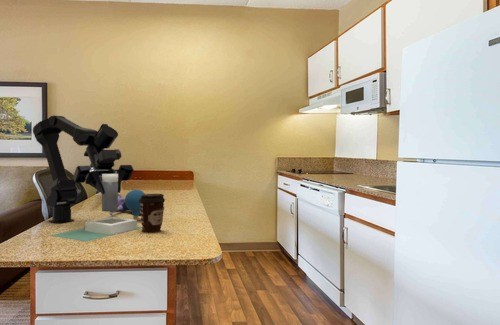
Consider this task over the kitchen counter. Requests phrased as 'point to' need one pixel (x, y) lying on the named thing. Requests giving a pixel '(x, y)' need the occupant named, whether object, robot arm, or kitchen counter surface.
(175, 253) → the kitchen counter surface
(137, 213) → the light bulb
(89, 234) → the board
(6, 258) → the kitchen counter surface
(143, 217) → the coffee cup
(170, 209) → the kitchen counter surface
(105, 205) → the dome-topped cylinder
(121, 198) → the toy
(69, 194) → the robot arm
